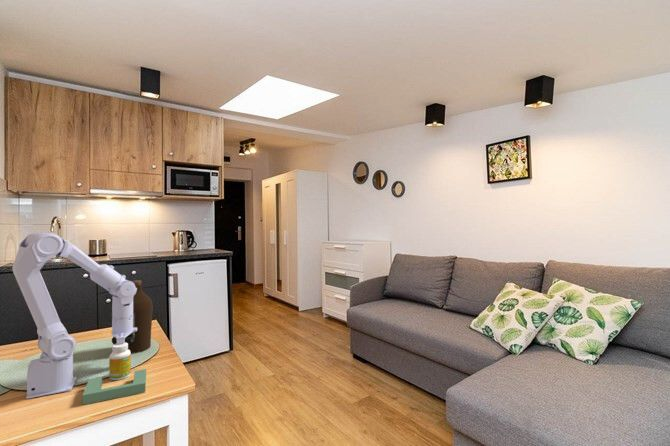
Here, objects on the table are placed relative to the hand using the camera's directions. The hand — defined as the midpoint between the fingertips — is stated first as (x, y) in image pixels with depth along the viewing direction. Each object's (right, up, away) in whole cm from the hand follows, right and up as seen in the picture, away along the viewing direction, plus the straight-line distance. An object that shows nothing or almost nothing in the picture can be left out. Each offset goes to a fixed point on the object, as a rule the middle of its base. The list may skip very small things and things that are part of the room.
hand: (122, 358), depth 106 cm
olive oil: (-4, -3, +14) cm, 15 cm away
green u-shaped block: (+7, -3, -14) cm, 16 cm away
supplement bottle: (+4, -3, -7) cm, 8 cm away
